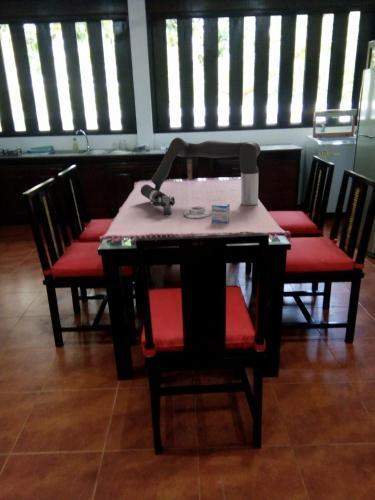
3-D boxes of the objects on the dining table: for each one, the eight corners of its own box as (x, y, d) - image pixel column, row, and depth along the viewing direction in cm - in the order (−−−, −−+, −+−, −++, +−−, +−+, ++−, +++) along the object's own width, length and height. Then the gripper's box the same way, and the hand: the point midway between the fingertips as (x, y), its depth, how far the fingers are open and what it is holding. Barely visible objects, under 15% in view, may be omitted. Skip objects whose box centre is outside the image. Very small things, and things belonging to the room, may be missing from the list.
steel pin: (164, 213, 210) (163, 195, 206) (171, 213, 210) (170, 194, 206) (163, 215, 206) (161, 196, 203) (170, 215, 206) (169, 196, 202)
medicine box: (211, 222, 190) (211, 205, 187) (214, 220, 194) (214, 202, 191) (227, 223, 187) (227, 206, 184) (230, 221, 191) (229, 203, 188)
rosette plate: (185, 211, 212) (185, 205, 211) (211, 210, 210) (211, 204, 209) (182, 218, 199) (181, 212, 198) (209, 218, 197) (209, 211, 196)
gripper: (145, 192, 214) (154, 199, 200) (169, 189, 219) (180, 195, 204) (146, 206, 217) (155, 213, 202) (170, 202, 222) (181, 209, 207)
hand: (168, 204), depth 203 cm, fingers open, 4 cm apart
